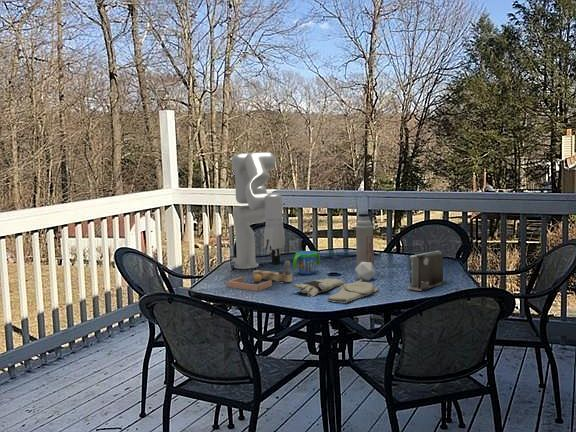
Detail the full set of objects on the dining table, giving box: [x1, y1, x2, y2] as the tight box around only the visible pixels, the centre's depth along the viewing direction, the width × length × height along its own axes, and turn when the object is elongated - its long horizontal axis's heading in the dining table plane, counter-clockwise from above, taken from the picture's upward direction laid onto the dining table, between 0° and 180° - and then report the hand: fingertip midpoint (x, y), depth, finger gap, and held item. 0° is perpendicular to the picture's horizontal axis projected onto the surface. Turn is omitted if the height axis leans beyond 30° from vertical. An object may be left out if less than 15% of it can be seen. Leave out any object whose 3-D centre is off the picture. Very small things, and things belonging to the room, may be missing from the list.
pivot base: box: [274, 280, 288, 284], centre depth 257 cm, size 6×6×1 cm
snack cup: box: [292, 250, 321, 275], centre depth 272 cm, size 16×10×10 cm
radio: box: [407, 250, 445, 292], centre depth 239 cm, size 23×9×15 cm, turn 131°
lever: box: [252, 260, 294, 283], centre depth 259 cm, size 20×3×9 cm, turn 56°
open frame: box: [226, 276, 273, 292], centre depth 251 cm, size 17×10×2 cm, turn 56°
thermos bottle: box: [355, 213, 375, 268], centre depth 267 cm, size 8×8×28 cm
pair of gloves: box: [292, 278, 379, 304], centre depth 234 cm, size 30×26×5 cm
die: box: [354, 262, 377, 282], centre depth 255 cm, size 8×9×10 cm
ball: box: [253, 274, 262, 283], centre depth 259 cm, size 4×4×4 cm
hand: (276, 264), depth 247 cm, fingers closed
